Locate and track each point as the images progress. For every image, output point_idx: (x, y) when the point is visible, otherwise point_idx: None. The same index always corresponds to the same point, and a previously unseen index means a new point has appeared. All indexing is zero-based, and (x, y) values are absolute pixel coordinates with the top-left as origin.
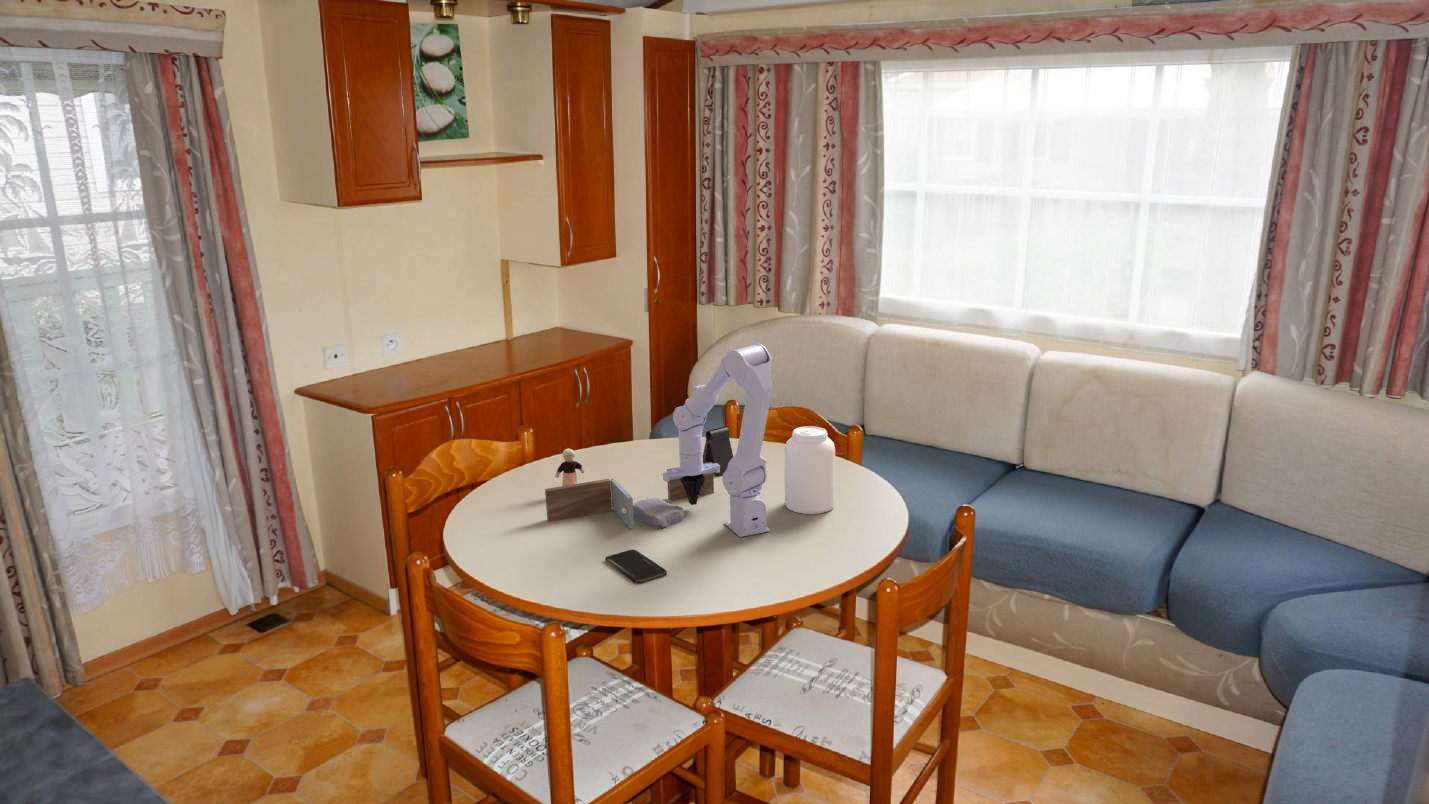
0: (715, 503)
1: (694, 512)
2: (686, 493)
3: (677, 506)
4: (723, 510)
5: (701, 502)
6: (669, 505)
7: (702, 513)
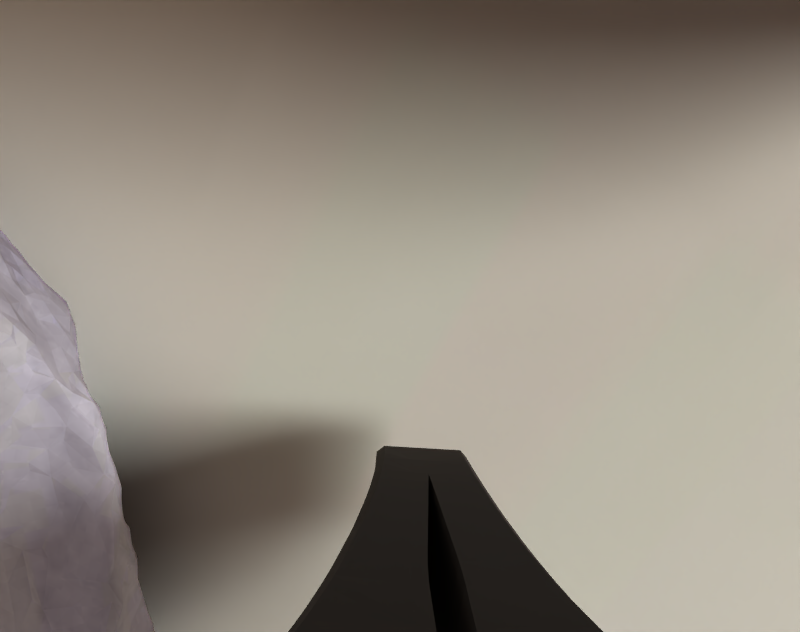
0: (782, 410)
1: None
2: (351, 531)
3: (102, 618)
4: (702, 622)
5: (655, 283)
6: (7, 493)
7: None
